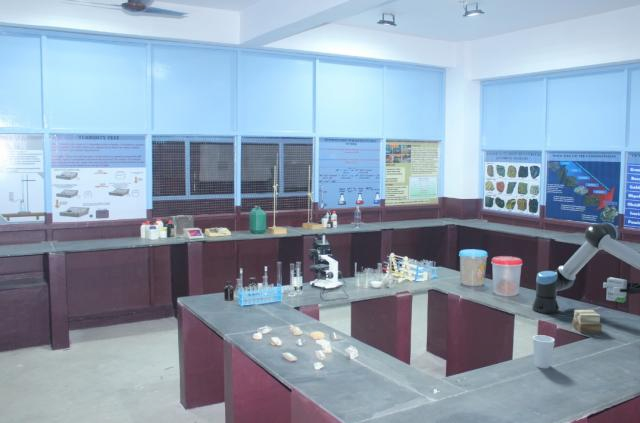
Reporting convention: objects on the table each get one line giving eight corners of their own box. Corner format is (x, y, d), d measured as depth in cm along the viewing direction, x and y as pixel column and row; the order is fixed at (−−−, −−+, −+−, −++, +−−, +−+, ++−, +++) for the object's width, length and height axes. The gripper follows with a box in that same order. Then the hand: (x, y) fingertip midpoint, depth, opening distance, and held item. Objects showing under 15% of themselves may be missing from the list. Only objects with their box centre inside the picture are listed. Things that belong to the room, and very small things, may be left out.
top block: (573, 318, 315) (574, 309, 314) (592, 318, 314) (592, 310, 313) (580, 324, 305) (580, 315, 304) (599, 324, 304) (600, 315, 304)
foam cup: (534, 369, 258) (535, 341, 256) (529, 361, 267) (530, 334, 265) (555, 370, 256) (557, 342, 255) (550, 362, 265) (551, 335, 264)
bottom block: (572, 326, 316) (572, 318, 315) (592, 327, 315) (592, 318, 315) (580, 333, 305) (580, 324, 304) (601, 333, 304) (601, 324, 304)
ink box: (626, 301, 298) (627, 279, 297) (622, 303, 295) (624, 281, 294) (609, 297, 305) (610, 276, 303) (605, 299, 301) (607, 278, 300)
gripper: (662, 300, 289) (618, 300, 289) (638, 288, 310) (597, 289, 310) (663, 285, 288) (619, 286, 288) (639, 275, 309) (598, 275, 309)
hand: (608, 287), depth 299 cm, fingers closed on ink box, 9 cm apart
